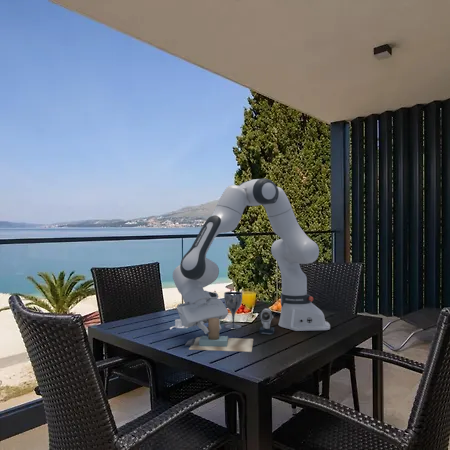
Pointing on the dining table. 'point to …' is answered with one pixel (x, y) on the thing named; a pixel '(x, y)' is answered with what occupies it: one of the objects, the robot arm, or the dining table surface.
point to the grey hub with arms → (178, 324)
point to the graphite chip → (190, 342)
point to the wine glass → (233, 305)
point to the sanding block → (213, 335)
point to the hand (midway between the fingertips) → (213, 331)
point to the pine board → (232, 345)
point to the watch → (266, 322)
